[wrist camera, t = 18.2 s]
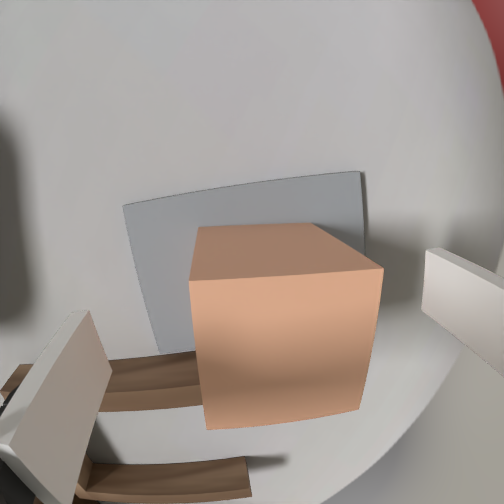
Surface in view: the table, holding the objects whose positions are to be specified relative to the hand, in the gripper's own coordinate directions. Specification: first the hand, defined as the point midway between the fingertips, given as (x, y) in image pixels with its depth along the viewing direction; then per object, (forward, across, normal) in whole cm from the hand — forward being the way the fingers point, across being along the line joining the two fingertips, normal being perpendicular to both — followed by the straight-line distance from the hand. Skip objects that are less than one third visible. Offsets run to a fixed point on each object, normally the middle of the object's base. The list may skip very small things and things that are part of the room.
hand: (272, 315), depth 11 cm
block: (+7, 0, -1) cm, 7 cm away
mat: (+7, 0, 0) cm, 7 cm away
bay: (+7, -11, -12) cm, 18 cm away
